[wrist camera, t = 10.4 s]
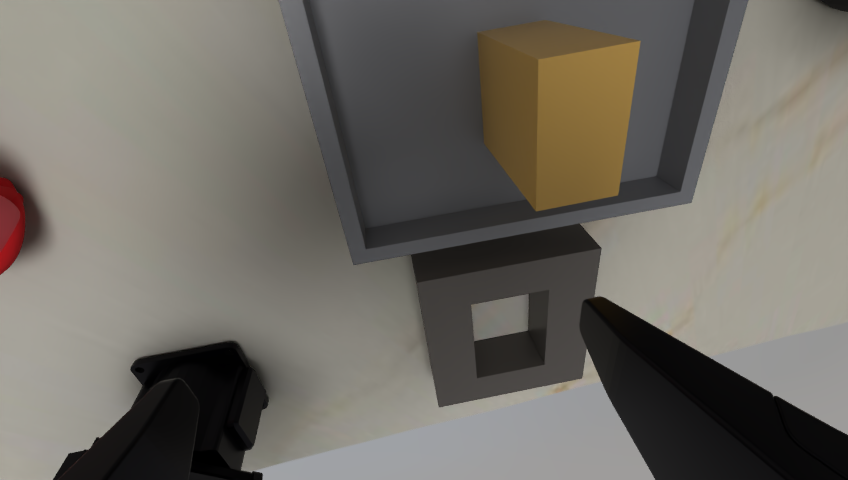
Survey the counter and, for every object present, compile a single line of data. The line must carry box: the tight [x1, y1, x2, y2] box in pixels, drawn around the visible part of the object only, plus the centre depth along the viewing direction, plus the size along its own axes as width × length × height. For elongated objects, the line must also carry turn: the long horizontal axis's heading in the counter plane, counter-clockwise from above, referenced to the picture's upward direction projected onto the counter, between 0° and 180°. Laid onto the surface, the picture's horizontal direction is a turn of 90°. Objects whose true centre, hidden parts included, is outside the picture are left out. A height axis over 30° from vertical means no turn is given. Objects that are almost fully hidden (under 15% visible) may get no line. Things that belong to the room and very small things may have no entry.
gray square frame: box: [411, 224, 601, 407], centre depth 25 cm, size 10×11×3 cm
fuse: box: [477, 20, 641, 211], centre depth 16 cm, size 3×5×7 cm, turn 9°
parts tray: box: [279, 0, 748, 265], centre depth 18 cm, size 18×14×2 cm
